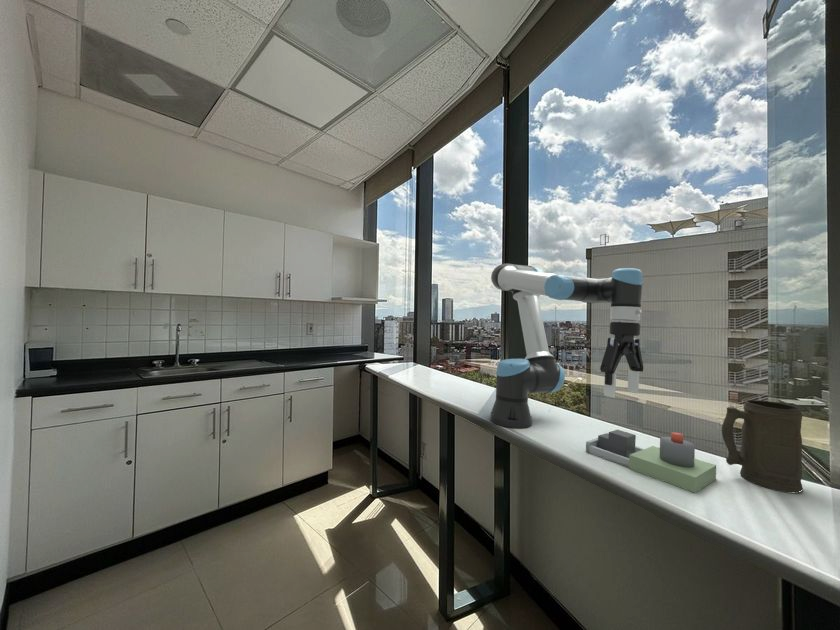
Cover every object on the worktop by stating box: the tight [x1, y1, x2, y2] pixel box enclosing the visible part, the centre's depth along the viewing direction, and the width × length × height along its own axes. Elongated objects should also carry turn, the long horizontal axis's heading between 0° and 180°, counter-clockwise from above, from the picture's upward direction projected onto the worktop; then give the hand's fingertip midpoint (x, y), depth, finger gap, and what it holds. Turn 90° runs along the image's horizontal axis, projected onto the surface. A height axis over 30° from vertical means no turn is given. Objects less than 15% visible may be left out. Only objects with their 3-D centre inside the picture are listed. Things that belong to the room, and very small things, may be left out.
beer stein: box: [721, 399, 804, 493], centre depth 82 cm, size 15×11×20 cm
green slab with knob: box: [585, 431, 717, 493], centre depth 89 cm, size 26×14×10 cm, turn 33°
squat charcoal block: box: [597, 429, 637, 458], centre depth 96 cm, size 8×5×6 cm, turn 33°
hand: (621, 394), depth 95 cm, fingers open, 13 cm apart
